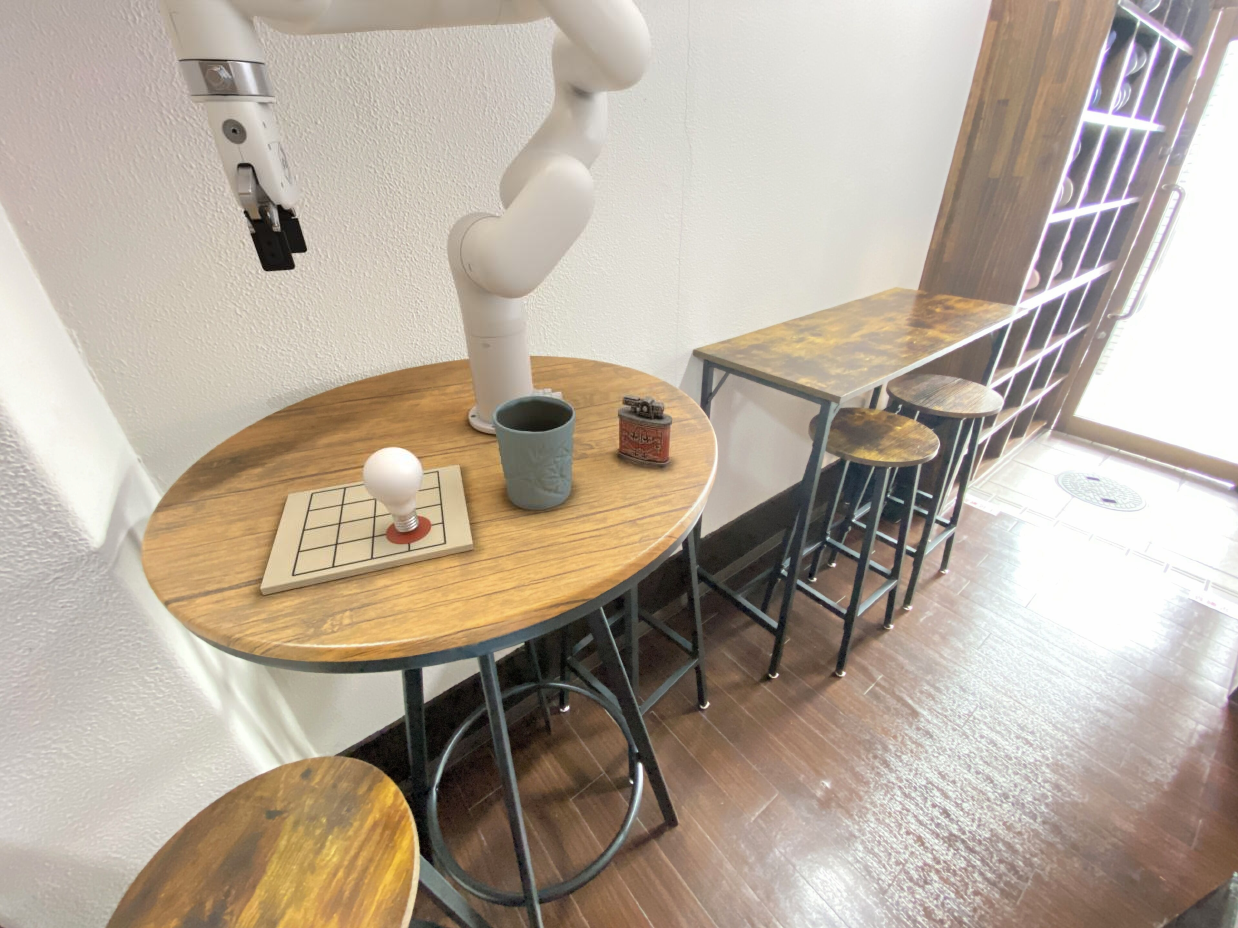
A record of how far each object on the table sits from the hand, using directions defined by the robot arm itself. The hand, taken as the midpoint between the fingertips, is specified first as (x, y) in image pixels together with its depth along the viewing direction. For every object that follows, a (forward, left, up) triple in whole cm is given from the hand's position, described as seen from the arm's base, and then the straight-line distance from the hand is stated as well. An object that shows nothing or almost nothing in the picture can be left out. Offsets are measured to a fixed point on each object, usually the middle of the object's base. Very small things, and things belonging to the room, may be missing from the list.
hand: (287, 261), depth 64 cm
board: (-4, +17, -28) cm, 33 cm away
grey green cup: (-25, +17, -28) cm, 42 cm away
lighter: (-41, +14, -28) cm, 52 cm away
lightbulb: (-8, +21, -27) cm, 35 cm away
